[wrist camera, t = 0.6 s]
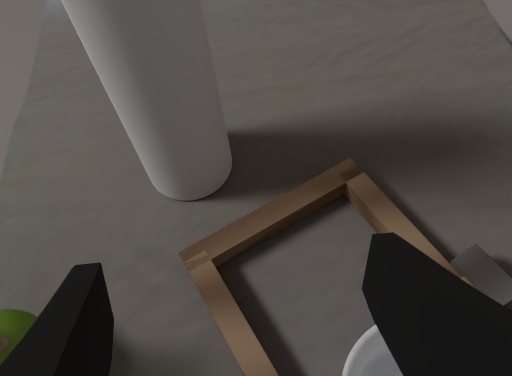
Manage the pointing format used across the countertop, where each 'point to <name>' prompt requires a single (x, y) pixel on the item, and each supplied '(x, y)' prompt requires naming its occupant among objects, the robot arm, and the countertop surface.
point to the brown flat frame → (290, 211)
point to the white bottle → (160, 88)
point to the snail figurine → (13, 329)
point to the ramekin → (371, 357)
